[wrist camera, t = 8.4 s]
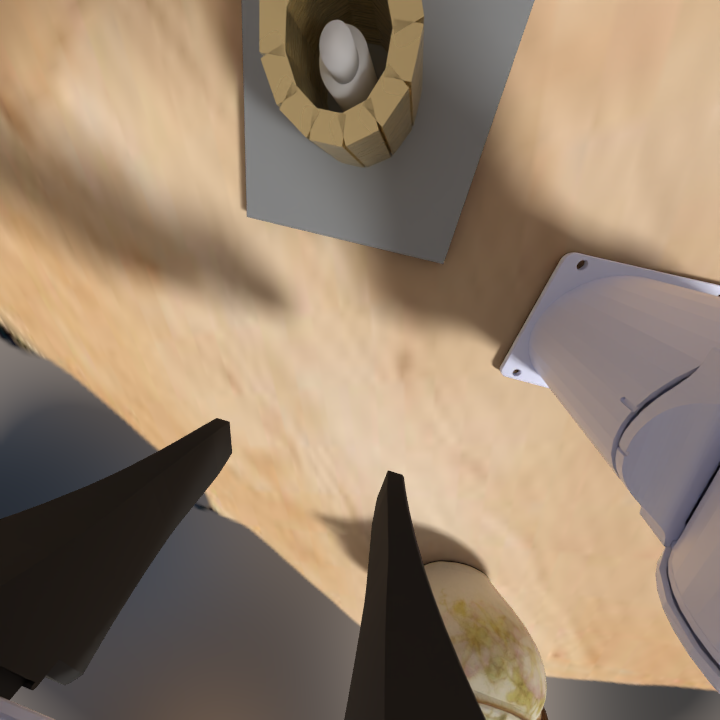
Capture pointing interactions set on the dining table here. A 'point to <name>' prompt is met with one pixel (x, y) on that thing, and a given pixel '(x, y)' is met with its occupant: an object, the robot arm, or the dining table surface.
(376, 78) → the stand
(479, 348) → the dining table surface
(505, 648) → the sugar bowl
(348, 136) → the collar
